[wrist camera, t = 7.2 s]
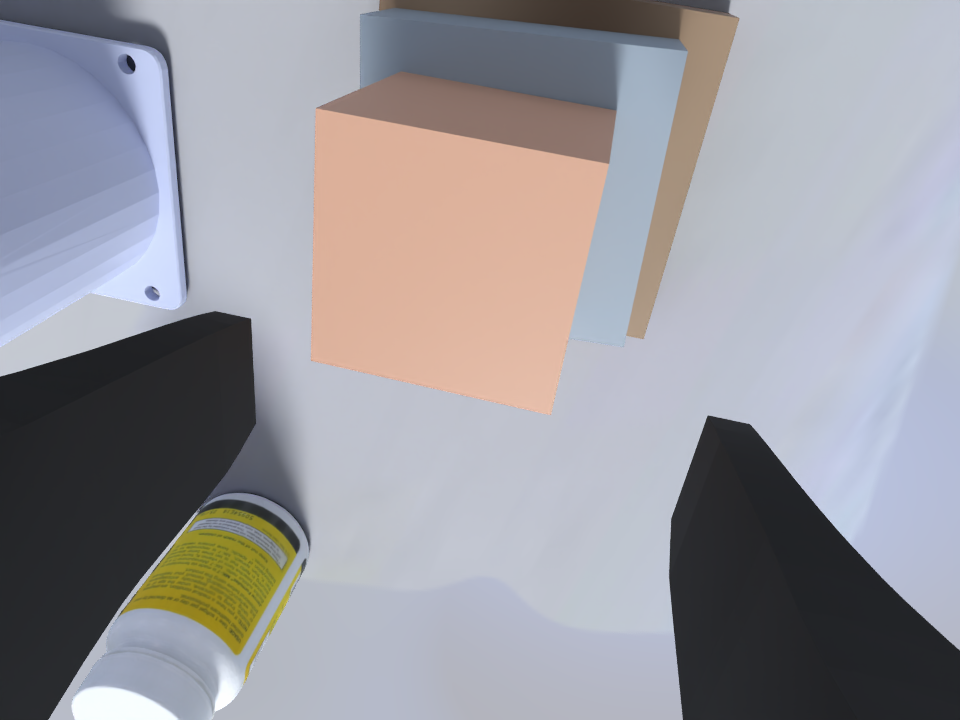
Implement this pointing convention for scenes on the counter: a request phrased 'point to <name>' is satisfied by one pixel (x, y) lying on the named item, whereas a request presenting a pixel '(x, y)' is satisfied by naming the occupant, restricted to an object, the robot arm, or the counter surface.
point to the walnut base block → (708, 38)
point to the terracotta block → (454, 234)
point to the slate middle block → (568, 77)
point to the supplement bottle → (199, 616)
